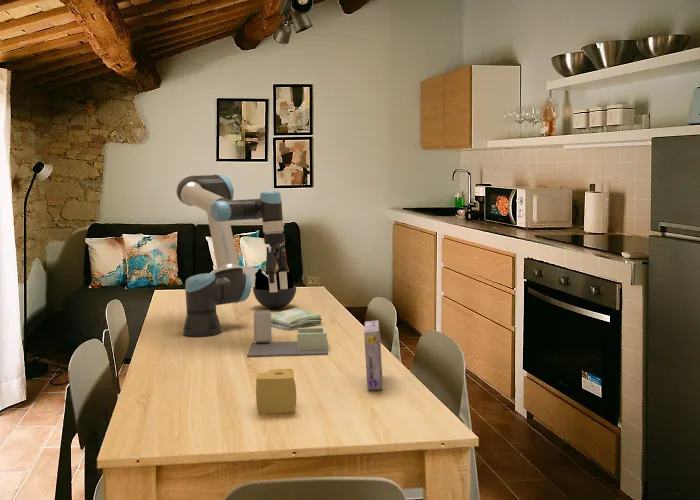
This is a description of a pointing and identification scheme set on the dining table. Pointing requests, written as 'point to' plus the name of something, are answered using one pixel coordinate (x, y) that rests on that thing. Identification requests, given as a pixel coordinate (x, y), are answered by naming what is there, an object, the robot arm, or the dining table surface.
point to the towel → (294, 319)
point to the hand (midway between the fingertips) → (278, 290)
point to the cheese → (276, 392)
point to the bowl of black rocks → (273, 298)
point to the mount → (294, 345)
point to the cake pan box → (373, 355)
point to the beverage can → (262, 326)
